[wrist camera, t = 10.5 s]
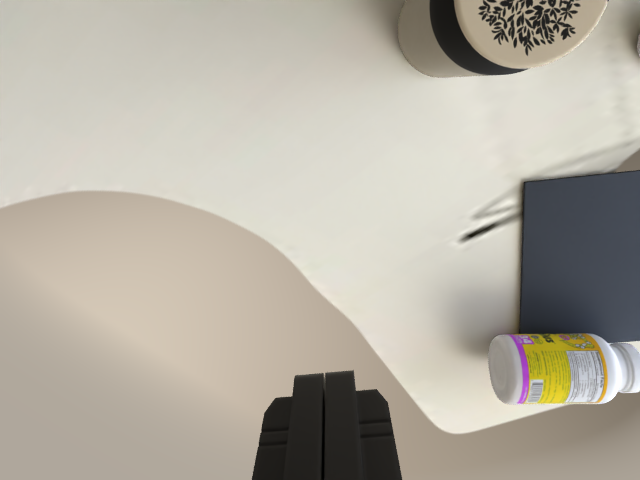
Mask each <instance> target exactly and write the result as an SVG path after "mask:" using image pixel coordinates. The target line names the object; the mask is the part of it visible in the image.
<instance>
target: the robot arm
mask: <svg viewBox="0 0 640 480" xmlns="http://www.w3.org/2000/svg"><path fill="white" fill-rule="evenodd" d="M252 480H402V477H401V471H400V466H399V460H398V455H397V450H396V444H395V439H394V434H393V429H392V423H391V418H390V412H389V407H388V402H387V401H386V400H385V399H384V398H383V396H382V395H381V394H380V393H379V392H378V390H377V389H374V390H362V391H356V388H355V379H354V371H342V372H330V373H325V378H324V374H323V373H321V374H320V373H319V374H309V375H296V376H295V378H294V387H293V396H292V397H280V398H275V399H274V401H273V402H272V403H271V405H270V406H269V407H268V409H267V410H266V412H265V413H264V418H263V424H262V433H261V435H260V440H259V447H258V450H257V455H256V460H255V466H254V471H253V476H252Z"/></svg>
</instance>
